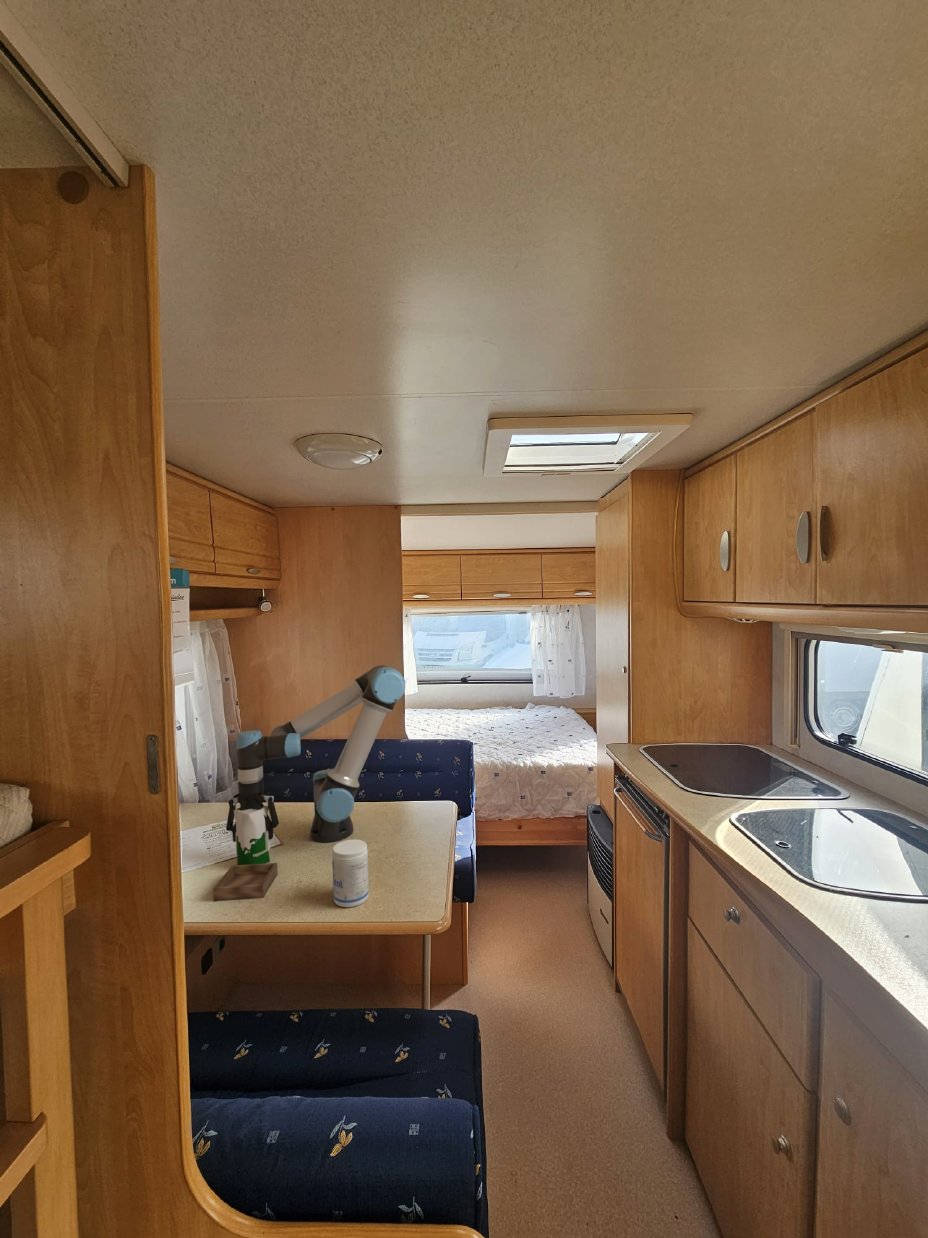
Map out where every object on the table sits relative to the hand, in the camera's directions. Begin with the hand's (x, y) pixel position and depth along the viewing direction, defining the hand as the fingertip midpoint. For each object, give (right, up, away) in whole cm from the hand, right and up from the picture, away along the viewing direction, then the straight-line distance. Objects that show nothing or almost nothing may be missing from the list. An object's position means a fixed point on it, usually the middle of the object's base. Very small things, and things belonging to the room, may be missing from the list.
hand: (253, 850), depth 167 cm
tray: (+4, -4, -15) cm, 16 cm away
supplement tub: (+37, -3, -24) cm, 44 cm away
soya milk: (0, -5, 0) cm, 5 cm away
